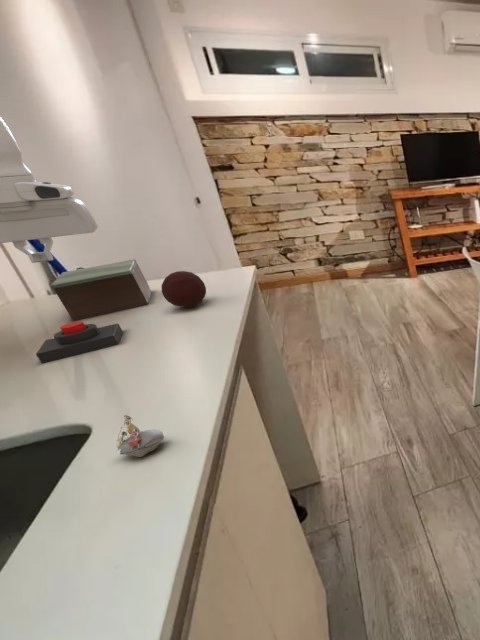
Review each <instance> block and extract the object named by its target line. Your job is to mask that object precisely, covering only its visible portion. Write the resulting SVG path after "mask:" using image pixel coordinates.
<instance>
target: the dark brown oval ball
mask: <svg viewBox="0 0 480 640" xmlns="http://www.w3.org/2000/svg"><path fill="white" fill-rule="evenodd" d="M161 293H162V296H163V298H164V300H166V301H167V302H168V303H169V304H171V305H172V306H175V307H180V308H192V307H195V306H197V305H199V304H201V303H202V302H203V300H204V298H206V295H207V287H206V284H205V282H204V281H203V280H202V278H201V277H200V276H199V275H197V274H195V273H194V272H192V271H186V270H180V271H177V270H176V271H175V272H174V271H173V272H171V273H170V274H168V275H166V277H164V279H163V281H162V283H161Z"/></svg>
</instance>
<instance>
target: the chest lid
mask: <svg viewBox="0 0 480 640" xmlns="http://www.w3.org/2000/svg"><path fill="white" fill-rule="evenodd" d="M136 262H137V260H136V259H130V260H124V261H119V262H118V261H117V262H113V263H107V264H102V265H97V266H90V267H84V268H80V269H75V270H68V271H64V272H63V271H62V272H61V274H59V276H58V277H57V278H56V279H55V280H54V281H53V282H52V283H51V284H50V288H51V289H53V288H58V287H64V286H69V285H74V284H79V283H84V282H90V281H95V280H100V279H105V278H110V277H116V276H121V275H126V274H131V273H132V271H133V268H134V266H135V264H136ZM53 290H54V289H53Z"/></svg>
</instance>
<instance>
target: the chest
mask: <svg viewBox="0 0 480 640" xmlns="http://www.w3.org/2000/svg"><path fill="white" fill-rule="evenodd" d="M53 290H54V292H55V294H56V295H57V298H58V299H59V300H60V302H61V303H62V306H63V307H64V308H65V310H66V312H67V314H68V315H69V317H70V318H71V320H72V321H73V322H76V321H80V320H83V319H88V318H93V317H98V316H102V315H106V314H110V313H115V312H119V311H124V310H129V309H132V308H138V307H143V306H147V305H149V304H150V300H151V295H152V292H153V291H152V289H151V287H150V285H149V283H148V281H147V280H146V277H145V275H144V273H143V272H142V269H141V268H140V265H139V263H138V262H137V261H136V264H135V266H134V268H133V271H132V273H131V274H126V275H121V276H116V277H110V278H105V279H100V280H95V281H90V282H84V283H79V284H74V285H69V286H64V287H58V288H53Z"/></svg>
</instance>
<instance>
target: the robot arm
mask: <svg viewBox="0 0 480 640" xmlns="http://www.w3.org/2000/svg"><path fill="white" fill-rule="evenodd" d="M98 227H99V226H98V223H97V221H96V219H95V217H94V216H93V213H91V211H90V210H89V208H88V207H87V205H86V204H85V203H84V202H83V201H82V200H80V199H79V198H77V197H74V190H73V188H72V187H71V186H69V185H66V184H60V183H52V182H48V181H40V180H39V181H38V180H37V179H35V177H34V175H33V173H32V171H31V170H30V169H29V168H28V167H27V166H26V164H25V163H24V161H23V156H22V151H21V148H20V146H19V144H18V142H17V141H16V138H15V137H14V135H13V132H12V131H11V130H10V128H9V126H8V125H7V123H6V122H5V121H4V119H3V118H2V117H1V116H0V244H7V243H12V244H13V246H14V248H15V249H17V250H18V251H20V252H21V253H23V254H25V255H26V256H28V258H29V260H30V262H31V263H32V264H35V263H41V262H42V263H43V262H50V261H54V256H53V254H52V252H51V250H52V248H53V244H54V240H53V238H59V237H67V236H75V235H76V236H77V235H84V234H85V235H86V234H92V233H95V232H96V231H97V229H98ZM31 240H39V242H40V244H42V245H44V248H43V251H39V252H34V251H33V250H31V249H30V248H28V247H27V246H28V242H27V241H31Z"/></svg>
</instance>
